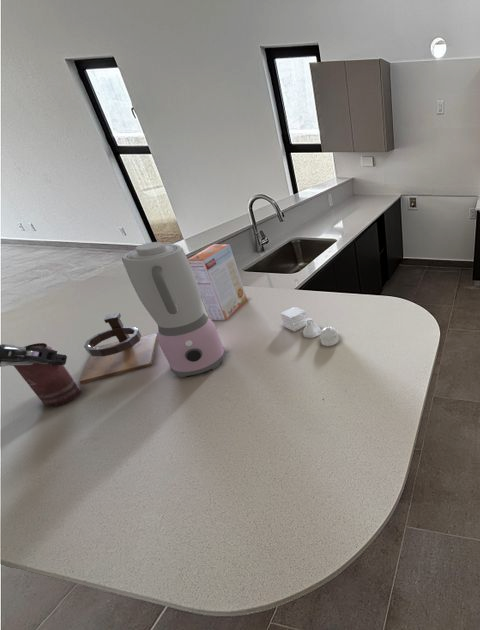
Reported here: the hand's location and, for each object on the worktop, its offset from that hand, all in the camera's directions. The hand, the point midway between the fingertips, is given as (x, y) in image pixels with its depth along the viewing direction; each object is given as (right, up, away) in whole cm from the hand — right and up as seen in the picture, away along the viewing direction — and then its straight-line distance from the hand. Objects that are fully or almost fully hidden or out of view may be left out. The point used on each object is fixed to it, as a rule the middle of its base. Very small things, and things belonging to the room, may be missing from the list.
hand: (47, 361), depth 72 cm
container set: (+49, +4, +26) cm, 56 cm away
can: (0, -10, +4) cm, 10 cm away
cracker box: (+17, +11, +39) cm, 44 cm away
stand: (+2, -2, +16) cm, 17 cm away
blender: (+25, -4, +14) cm, 28 cm away
